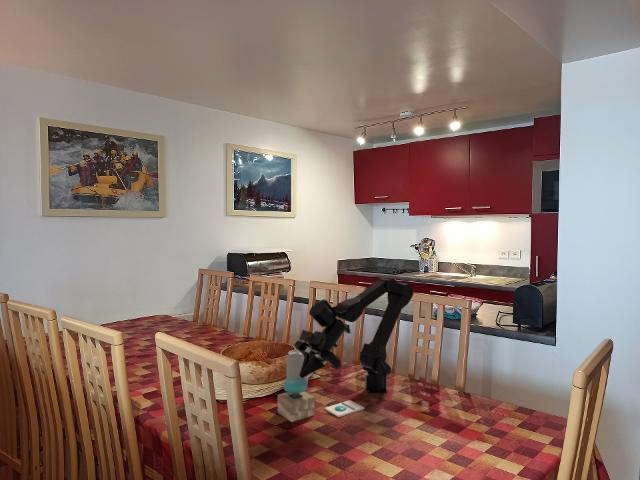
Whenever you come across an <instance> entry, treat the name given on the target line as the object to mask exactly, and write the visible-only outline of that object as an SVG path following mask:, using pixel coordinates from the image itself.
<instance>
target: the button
mask: <svg viewBox="0 0 640 480" xmlns="http://www.w3.org/2000/svg"><path fill="white" fill-rule="evenodd" d="M283 390H284V391H285V393H287V392H290V393H292V398H293V399H296V398H300V392H306V391H307V390H308V384H307V380H305V379H302V378H291V379H287V378H286V379H285V380H284V382H283Z"/></svg>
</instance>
